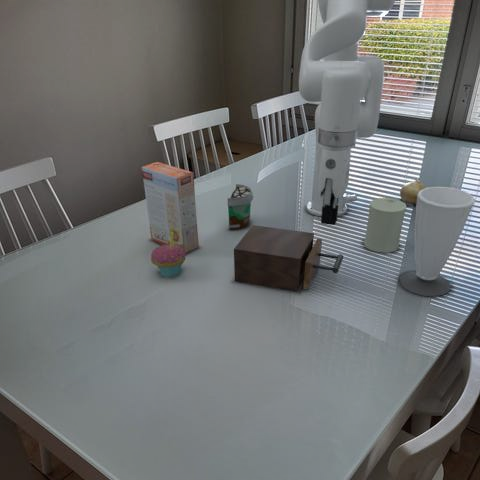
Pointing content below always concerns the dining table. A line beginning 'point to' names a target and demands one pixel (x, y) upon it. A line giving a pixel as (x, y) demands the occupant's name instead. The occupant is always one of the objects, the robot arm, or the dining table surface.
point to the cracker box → (171, 205)
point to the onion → (411, 192)
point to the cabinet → (271, 257)
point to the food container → (240, 207)
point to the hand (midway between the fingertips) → (328, 222)
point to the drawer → (316, 263)
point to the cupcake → (168, 258)
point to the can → (384, 224)
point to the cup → (436, 237)
